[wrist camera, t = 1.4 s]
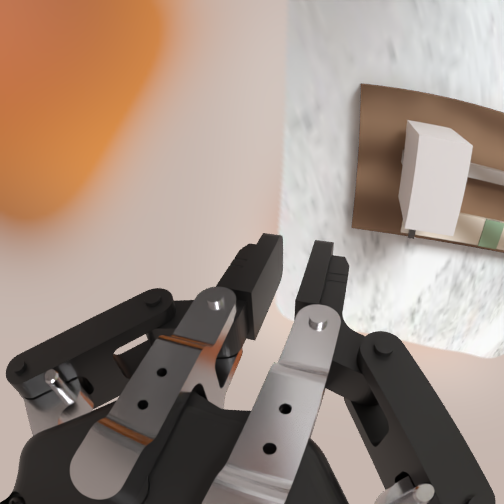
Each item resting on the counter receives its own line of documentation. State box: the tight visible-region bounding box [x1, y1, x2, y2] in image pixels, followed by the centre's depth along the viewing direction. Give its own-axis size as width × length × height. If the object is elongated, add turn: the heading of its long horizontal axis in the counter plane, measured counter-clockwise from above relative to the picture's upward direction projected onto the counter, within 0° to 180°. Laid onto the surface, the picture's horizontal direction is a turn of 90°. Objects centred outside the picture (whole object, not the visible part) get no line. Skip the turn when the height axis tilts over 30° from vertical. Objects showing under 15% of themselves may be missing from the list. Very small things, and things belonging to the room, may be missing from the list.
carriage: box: [398, 120, 473, 238], centre depth 22 cm, size 11×4×6 cm, turn 3°
